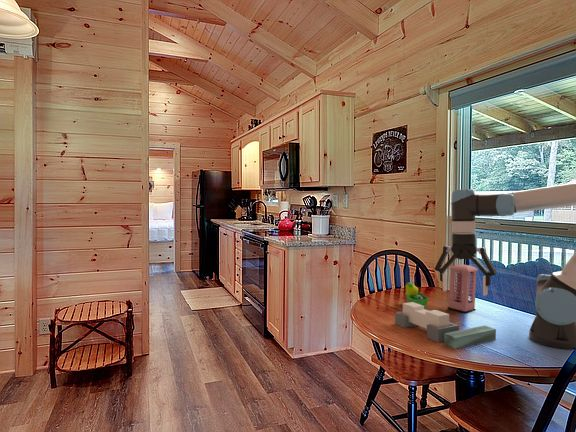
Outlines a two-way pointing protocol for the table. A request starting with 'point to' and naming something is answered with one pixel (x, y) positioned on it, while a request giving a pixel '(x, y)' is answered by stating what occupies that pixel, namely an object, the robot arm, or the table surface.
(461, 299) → the miniature model
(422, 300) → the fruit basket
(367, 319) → the table surface
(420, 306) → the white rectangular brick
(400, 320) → the cradle
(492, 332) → the grey-green long bar
